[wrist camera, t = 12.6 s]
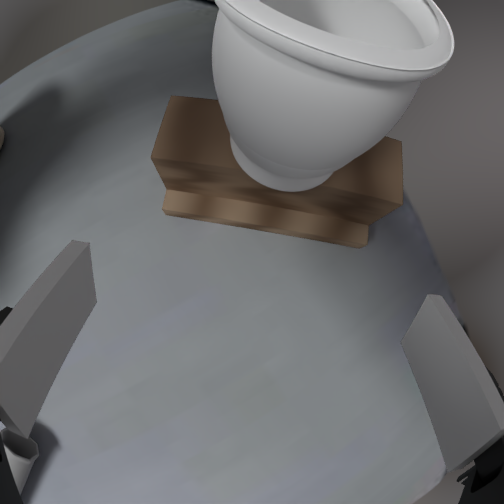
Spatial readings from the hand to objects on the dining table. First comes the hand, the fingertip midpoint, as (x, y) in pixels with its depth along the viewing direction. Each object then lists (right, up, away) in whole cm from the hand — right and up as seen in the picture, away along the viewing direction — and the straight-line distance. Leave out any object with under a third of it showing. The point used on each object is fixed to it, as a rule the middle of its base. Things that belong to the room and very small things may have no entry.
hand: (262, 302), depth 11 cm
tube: (-34, -31, +12) cm, 47 cm away
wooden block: (+2, +9, +21) cm, 23 cm away
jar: (+2, +10, +12) cm, 16 cm away
